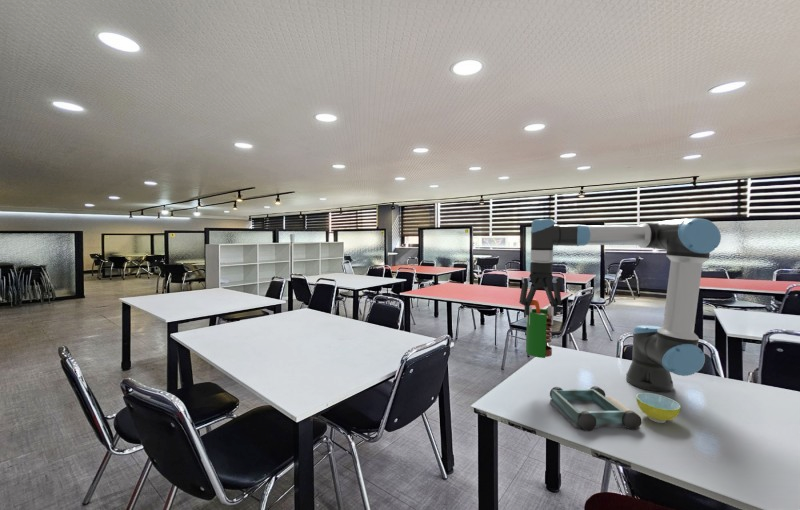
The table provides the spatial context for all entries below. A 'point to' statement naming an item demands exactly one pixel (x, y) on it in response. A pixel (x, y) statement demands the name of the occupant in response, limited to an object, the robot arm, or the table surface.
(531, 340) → the motor
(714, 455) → the table surface
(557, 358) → the table surface
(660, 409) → the bowl
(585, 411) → the chassis
